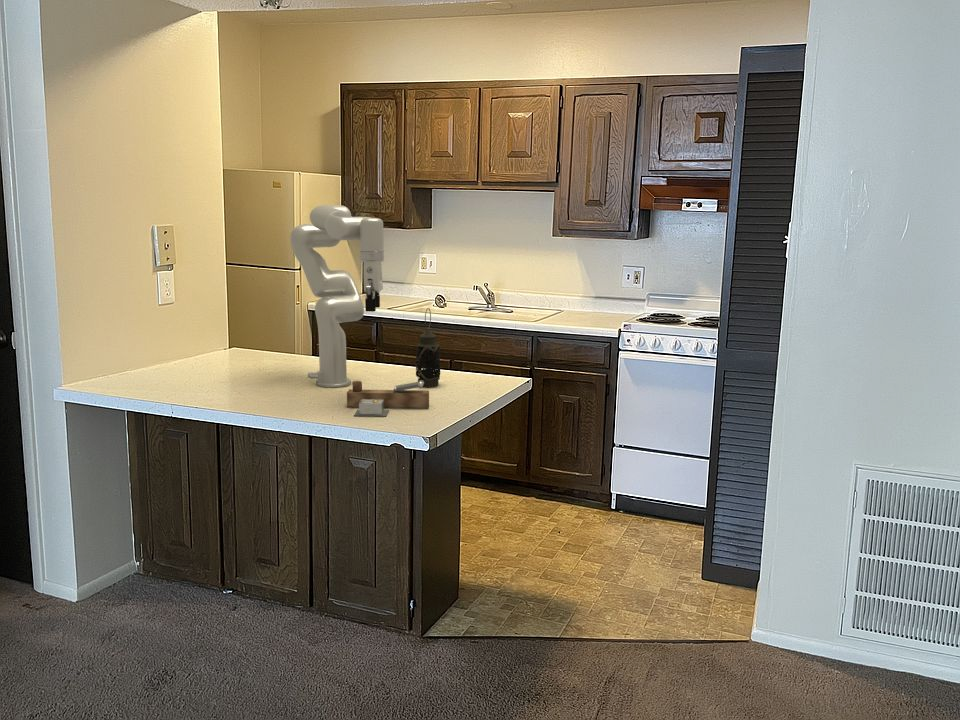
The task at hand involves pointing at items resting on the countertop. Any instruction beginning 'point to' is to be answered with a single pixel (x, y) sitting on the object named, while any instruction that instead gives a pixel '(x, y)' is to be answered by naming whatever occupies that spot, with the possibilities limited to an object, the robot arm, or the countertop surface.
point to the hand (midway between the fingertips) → (372, 309)
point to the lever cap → (371, 407)
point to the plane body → (389, 397)
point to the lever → (409, 386)
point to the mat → (372, 415)
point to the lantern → (428, 359)
